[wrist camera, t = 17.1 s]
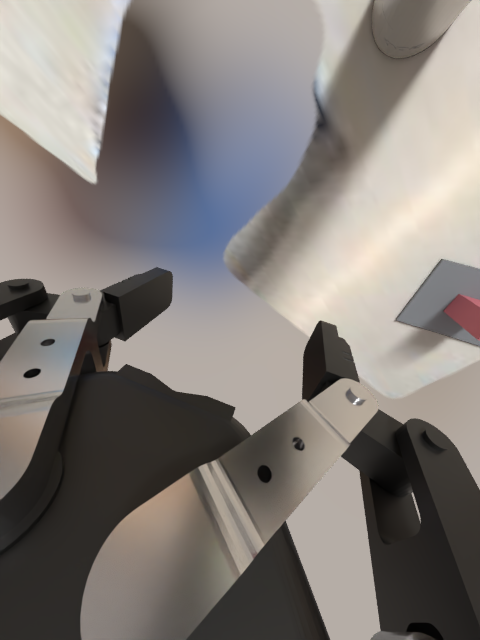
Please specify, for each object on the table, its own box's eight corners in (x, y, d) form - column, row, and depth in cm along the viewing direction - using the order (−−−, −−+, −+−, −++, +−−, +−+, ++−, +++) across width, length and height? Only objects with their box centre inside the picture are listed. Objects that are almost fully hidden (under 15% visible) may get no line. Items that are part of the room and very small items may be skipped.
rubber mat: (441, 258, 33) (443, 259, 33) (553, 288, 31) (556, 289, 31) (395, 319, 40) (396, 320, 39) (485, 346, 38) (487, 348, 37)
